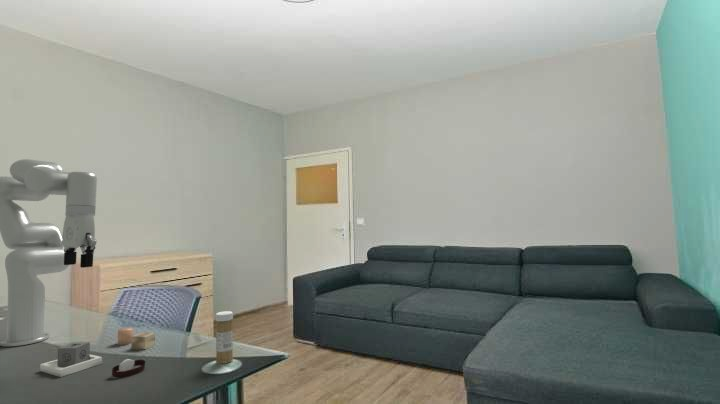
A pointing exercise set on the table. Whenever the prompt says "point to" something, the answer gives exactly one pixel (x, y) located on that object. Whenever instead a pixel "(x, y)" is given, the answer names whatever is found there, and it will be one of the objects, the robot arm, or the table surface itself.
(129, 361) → the watch
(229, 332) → the sprinkles bottle
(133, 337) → the oak block
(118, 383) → the table surface
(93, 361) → the dish
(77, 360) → the grey marked block
